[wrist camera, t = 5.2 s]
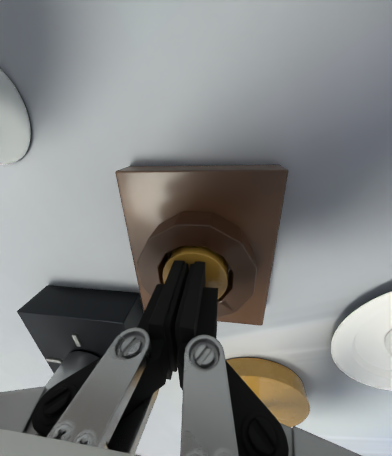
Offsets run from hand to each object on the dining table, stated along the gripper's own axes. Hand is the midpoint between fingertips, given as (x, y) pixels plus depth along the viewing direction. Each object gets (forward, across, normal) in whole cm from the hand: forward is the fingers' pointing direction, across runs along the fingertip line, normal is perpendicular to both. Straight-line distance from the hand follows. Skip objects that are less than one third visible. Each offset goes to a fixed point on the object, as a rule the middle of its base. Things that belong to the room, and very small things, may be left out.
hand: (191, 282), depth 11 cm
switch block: (+4, 0, 0) cm, 4 cm away
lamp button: (+2, 0, 0) cm, 2 cm away
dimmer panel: (+4, +10, +11) cm, 15 cm away
